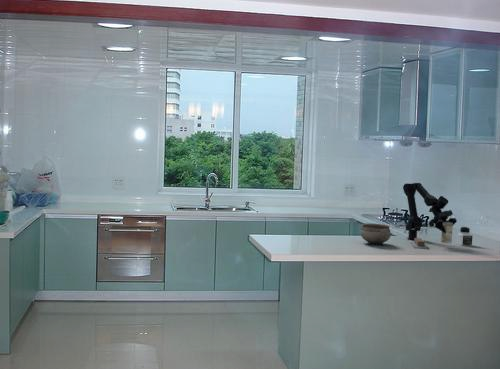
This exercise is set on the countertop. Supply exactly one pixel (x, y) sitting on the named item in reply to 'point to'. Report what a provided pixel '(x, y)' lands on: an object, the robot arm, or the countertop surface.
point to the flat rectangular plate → (419, 243)
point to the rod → (447, 233)
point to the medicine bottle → (464, 237)
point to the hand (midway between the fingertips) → (448, 232)
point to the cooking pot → (375, 233)
